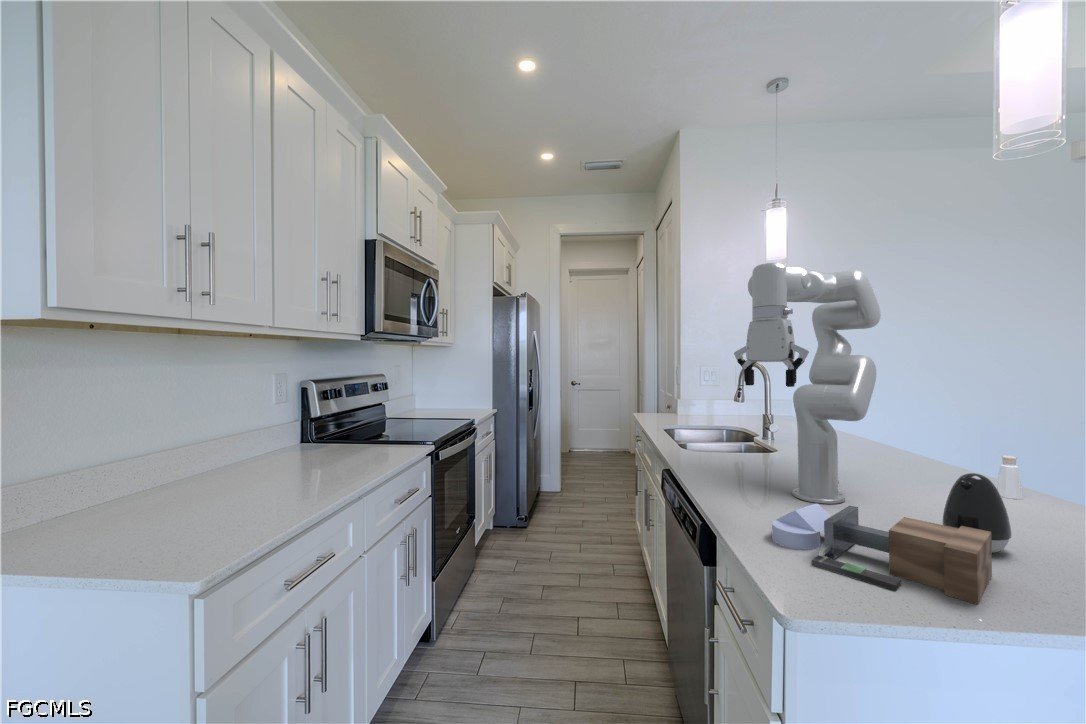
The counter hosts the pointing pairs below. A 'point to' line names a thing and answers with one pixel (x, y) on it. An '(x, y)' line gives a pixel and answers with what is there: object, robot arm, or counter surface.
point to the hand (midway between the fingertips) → (769, 385)
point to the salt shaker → (1009, 479)
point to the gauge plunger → (850, 534)
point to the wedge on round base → (800, 528)
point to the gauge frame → (930, 559)
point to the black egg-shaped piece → (978, 508)
